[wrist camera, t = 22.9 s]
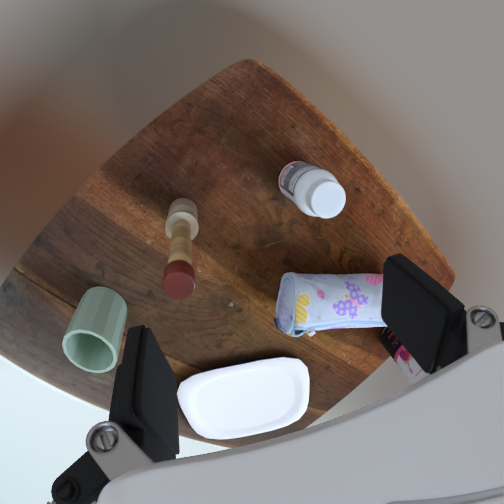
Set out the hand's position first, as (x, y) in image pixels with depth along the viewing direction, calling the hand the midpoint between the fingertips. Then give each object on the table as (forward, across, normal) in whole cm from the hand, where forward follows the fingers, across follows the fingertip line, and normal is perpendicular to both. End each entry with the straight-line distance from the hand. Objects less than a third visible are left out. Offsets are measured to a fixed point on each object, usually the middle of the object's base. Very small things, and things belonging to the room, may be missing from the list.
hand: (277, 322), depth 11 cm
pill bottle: (+28, -10, +3) cm, 30 cm away
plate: (+28, +5, +43) cm, 52 cm away
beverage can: (+28, -27, +37) cm, 54 cm away
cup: (+28, +21, +14) cm, 38 cm away
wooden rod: (+28, +5, +3) cm, 29 cm away
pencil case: (+28, -14, +21) cm, 38 cm away
